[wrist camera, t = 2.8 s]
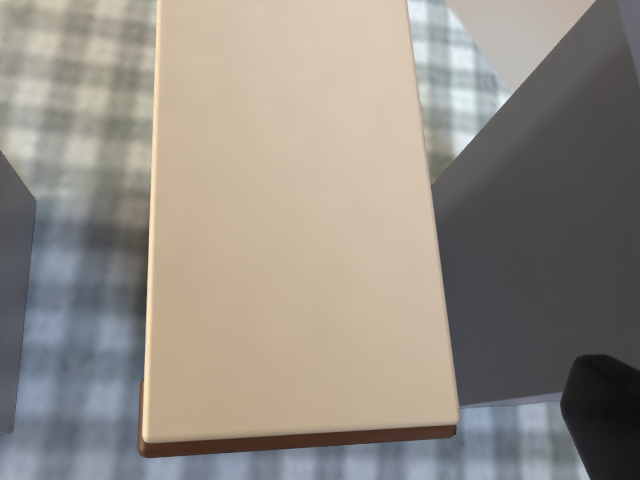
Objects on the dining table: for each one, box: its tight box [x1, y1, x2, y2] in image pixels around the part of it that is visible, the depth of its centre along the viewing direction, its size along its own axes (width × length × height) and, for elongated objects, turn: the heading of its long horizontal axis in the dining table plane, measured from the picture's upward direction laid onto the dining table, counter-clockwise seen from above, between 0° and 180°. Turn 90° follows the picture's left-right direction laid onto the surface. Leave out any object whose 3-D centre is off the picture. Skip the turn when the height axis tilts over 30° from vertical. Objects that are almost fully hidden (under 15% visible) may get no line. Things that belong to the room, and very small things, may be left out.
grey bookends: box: [0, 0, 640, 434], centre depth 14 cm, size 7×18×11 cm, turn 93°
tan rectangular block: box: [138, 0, 460, 458], centre depth 12 cm, size 8×2×14 cm, turn 3°
